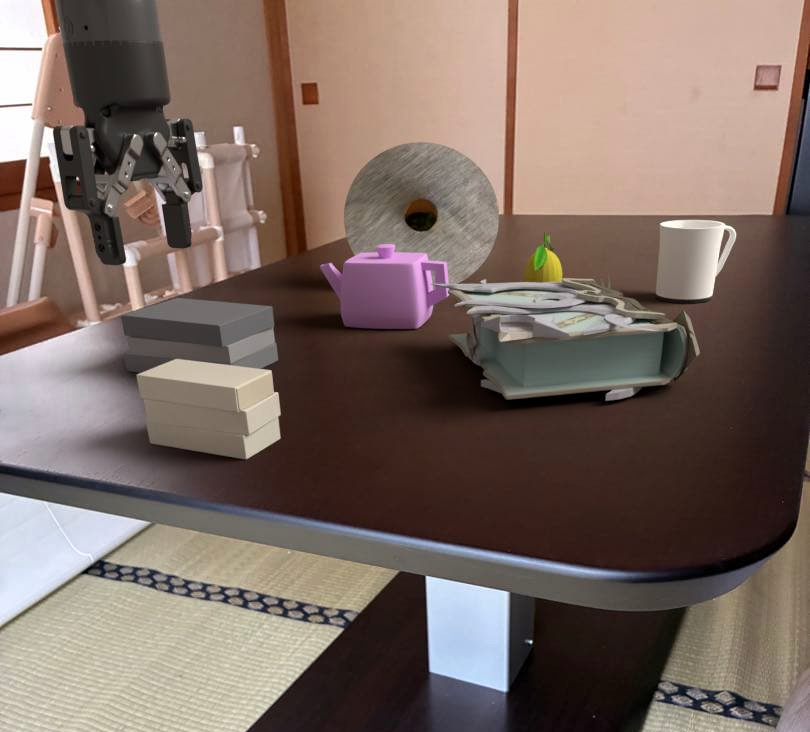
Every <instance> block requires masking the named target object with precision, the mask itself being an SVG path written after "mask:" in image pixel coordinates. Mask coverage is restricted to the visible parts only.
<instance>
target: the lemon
mask: <svg viewBox="0 0 810 732" xmlns="http://www.w3.org/2000/svg"><path fill="white" fill-rule="evenodd" d="M547 243H548V246H549V248H547V247H546V246H547V245H546V244H547ZM553 251H554V247H553V245H552V244H551V236H550V235H549V234H548V235H547V231H544V233H543V243H542V245H539V246H537V247H536V249H535V252H534V253H532V255H531V256H530V257H529V258H528V260H527V263H526V265H525V268H524V274H523V280H524V281H523V282H538V283H541V282H554V281H562V279H563V267H562V264H561V261H560V259H559V258H558V257H559V256H557V255H556V254H555V253H554V252H553Z"/></svg>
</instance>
